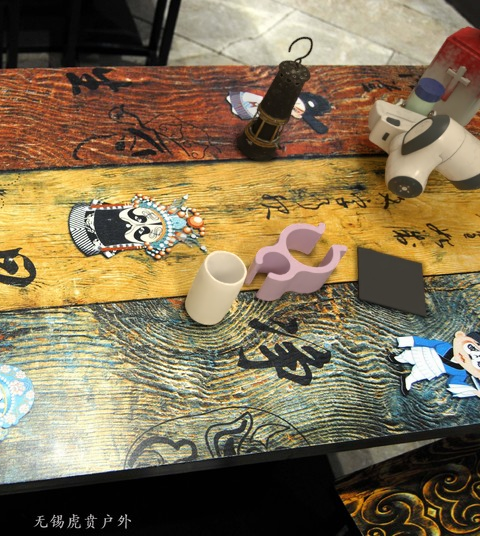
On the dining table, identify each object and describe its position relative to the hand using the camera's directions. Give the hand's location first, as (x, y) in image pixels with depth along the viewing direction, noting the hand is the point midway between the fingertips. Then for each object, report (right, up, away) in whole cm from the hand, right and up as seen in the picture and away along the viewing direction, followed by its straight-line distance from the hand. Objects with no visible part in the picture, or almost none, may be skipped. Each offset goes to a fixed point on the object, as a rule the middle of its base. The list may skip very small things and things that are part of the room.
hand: (416, 107), depth 173 cm
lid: (+1, +3, -6) cm, 7 cm away
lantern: (-38, -10, -1) cm, 39 cm away
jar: (-1, -4, +4) cm, 6 cm away
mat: (-14, -41, -19) cm, 47 cm away
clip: (-37, -39, -22) cm, 58 cm away
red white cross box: (+10, 0, +15) cm, 18 cm away
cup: (-55, -46, -31) cm, 78 cm away
